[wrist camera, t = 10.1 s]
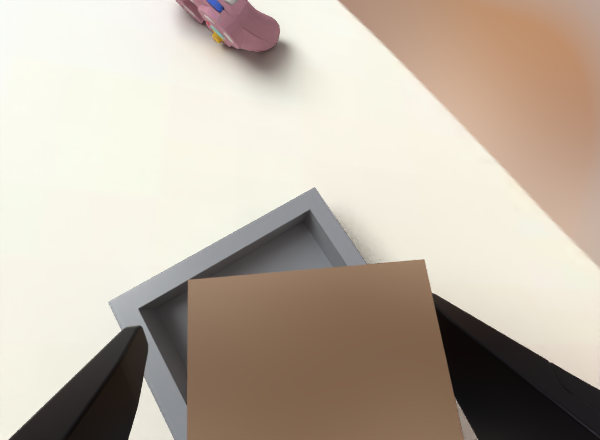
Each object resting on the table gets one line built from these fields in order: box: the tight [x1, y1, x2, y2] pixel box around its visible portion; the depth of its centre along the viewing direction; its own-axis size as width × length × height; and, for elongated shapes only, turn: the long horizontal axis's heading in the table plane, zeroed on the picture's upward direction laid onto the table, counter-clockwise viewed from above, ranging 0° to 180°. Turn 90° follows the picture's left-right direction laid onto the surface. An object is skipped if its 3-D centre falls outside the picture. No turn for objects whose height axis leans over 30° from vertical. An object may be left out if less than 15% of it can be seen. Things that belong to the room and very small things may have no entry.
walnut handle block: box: [187, 260, 464, 440], centre depth 11 cm, size 4×4×12 cm
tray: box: [108, 187, 367, 440], centre depth 16 cm, size 12×12×4 cm
